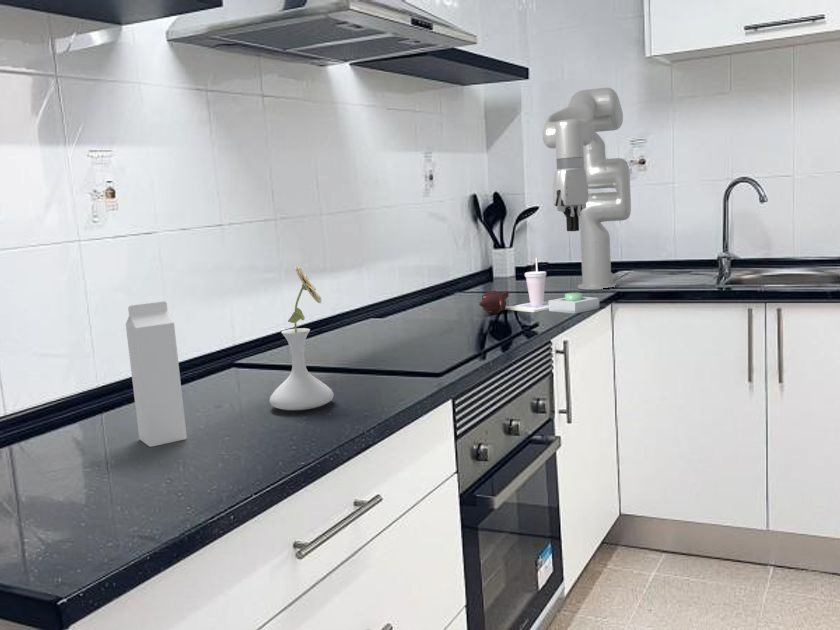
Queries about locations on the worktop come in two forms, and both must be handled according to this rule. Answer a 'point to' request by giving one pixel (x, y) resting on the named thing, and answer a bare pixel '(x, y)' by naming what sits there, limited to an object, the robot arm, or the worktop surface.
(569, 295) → the button
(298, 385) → the flower in vase
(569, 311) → the grey square block
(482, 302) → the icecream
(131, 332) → the milk
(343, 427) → the worktop surface
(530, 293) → the smoothie
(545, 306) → the paper pad
